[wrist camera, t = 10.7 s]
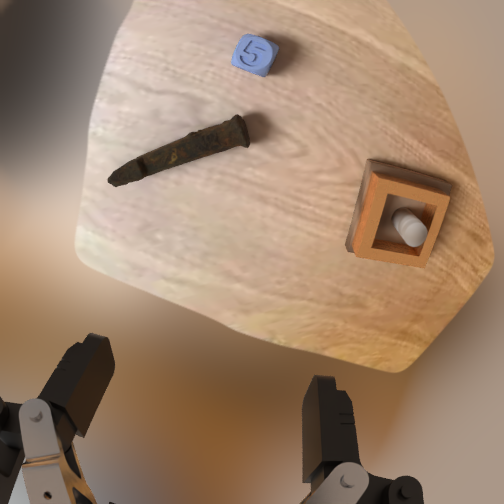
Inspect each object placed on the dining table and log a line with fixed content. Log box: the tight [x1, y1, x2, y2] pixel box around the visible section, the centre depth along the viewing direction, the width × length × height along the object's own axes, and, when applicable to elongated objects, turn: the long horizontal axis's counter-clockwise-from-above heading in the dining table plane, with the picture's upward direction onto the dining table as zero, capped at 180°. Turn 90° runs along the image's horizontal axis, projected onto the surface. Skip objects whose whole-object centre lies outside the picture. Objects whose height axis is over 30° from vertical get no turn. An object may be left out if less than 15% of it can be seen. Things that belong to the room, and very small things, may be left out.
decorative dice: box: [231, 34, 279, 77], centre depth 29 cm, size 4×4×4 cm
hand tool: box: [108, 115, 250, 187], centre depth 35 cm, size 19×4×5 cm, turn 105°
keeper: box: [345, 159, 452, 253], centre depth 35 cm, size 12×12×7 cm
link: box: [352, 171, 450, 268], centre depth 35 cm, size 10×10×3 cm
